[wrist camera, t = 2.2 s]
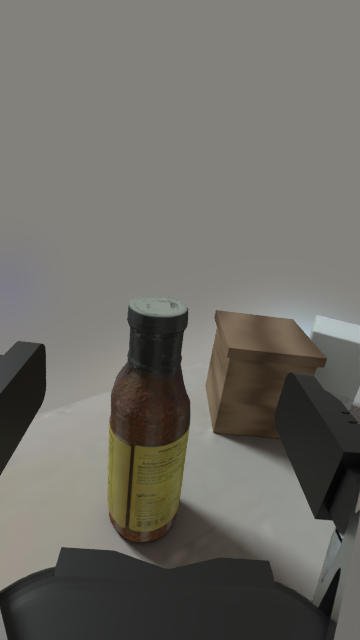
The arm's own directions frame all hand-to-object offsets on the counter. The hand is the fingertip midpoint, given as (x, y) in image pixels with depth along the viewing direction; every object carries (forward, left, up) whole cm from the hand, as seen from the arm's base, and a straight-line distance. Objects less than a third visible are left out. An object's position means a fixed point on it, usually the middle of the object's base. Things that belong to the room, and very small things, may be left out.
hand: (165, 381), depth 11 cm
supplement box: (-24, -30, -22) cm, 44 cm away
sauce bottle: (0, -11, -22) cm, 24 cm away
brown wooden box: (-13, -27, -21) cm, 37 cm away
